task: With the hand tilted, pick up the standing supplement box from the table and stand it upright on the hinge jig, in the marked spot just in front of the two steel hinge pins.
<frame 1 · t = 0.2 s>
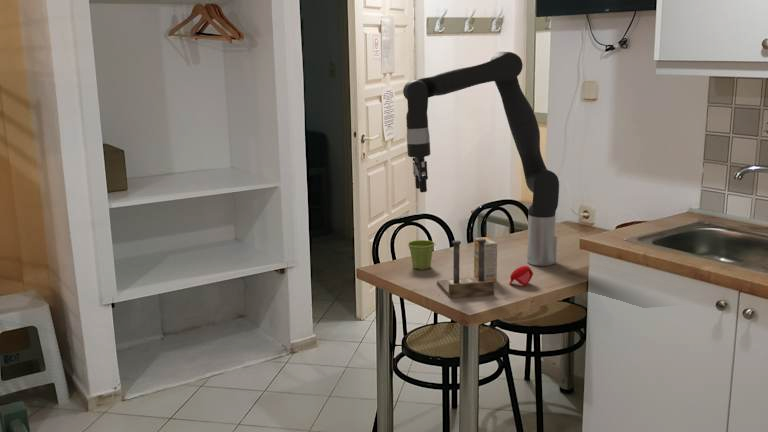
hand: (421, 190, 252), 28 cm above the table, tool pointing down, fingers open, 8 cm apart
supplement box: (485, 279, 249), on the table
cap: (521, 285, 242), on the table
hinge jig: (464, 289, 238), on the table
plant pot: (421, 268, 263), on the table
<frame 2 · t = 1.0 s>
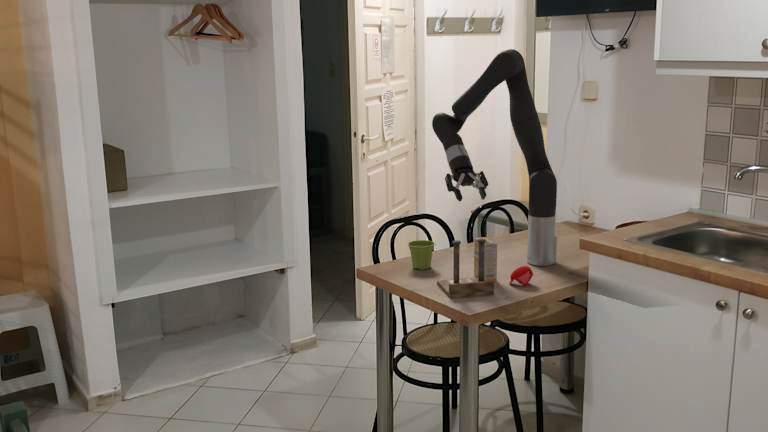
hand: (472, 199, 254), 25 cm above the table, tool tilted 45°, fingers open, 8 cm apart
nothing on the table moved.
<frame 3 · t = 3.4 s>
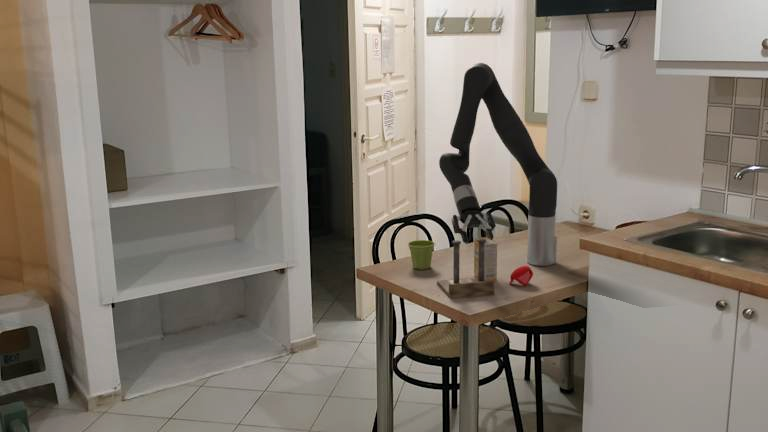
hand: (479, 241, 251), 11 cm above the table, tool tilted 45°, fingers open, 8 cm apart
nothing on the table moved.
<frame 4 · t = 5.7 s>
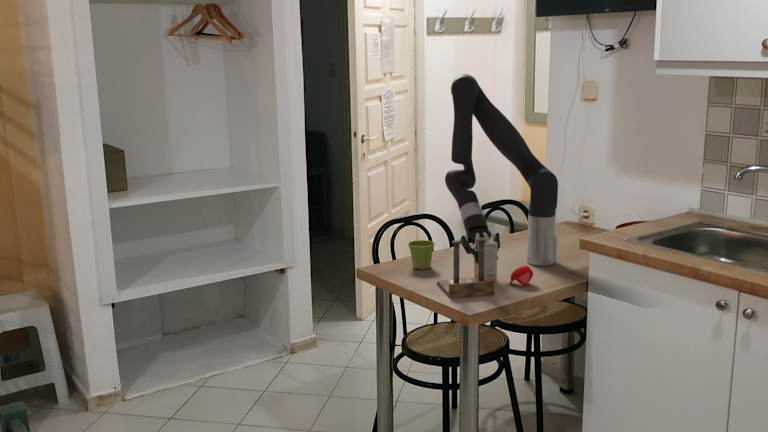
hand: (487, 262, 246), 6 cm above the table, tool tilted 45°, fingers closed on supplement box, 5 cm apart
supplement box: (485, 279, 249), on the table, touching gripper
everything else where it was.
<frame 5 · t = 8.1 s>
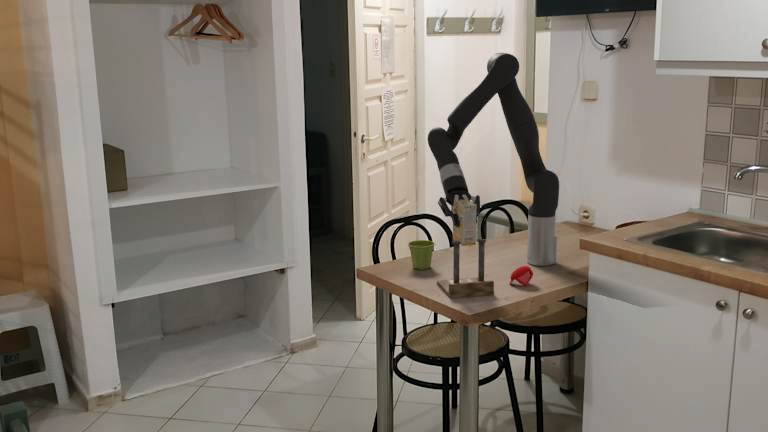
hand: (466, 225, 235), 20 cm above the table, tool tilted 45°, fingers closed on supplement box, 5 cm apart
supplement box: (463, 243, 238), point 14 cm above the table, touching gripper
everything else where it was.
when the fingers open (8 cm above the table, at t = 10.9 s): supplement box drops 1 cm, resting on hinge jig.
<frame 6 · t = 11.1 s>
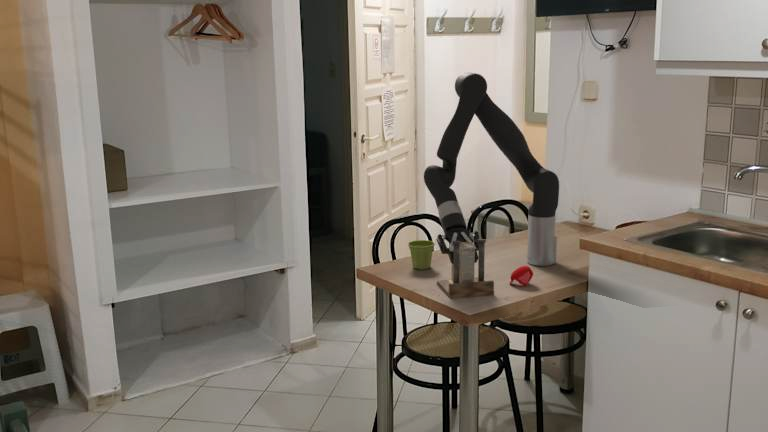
hand: (465, 262, 236), 9 cm above the table, tool tilted 45°, fingers open, 6 cm apart
supplement box: (462, 284, 239), point 1 cm above the table, touching hinge jig
everything else where it was.
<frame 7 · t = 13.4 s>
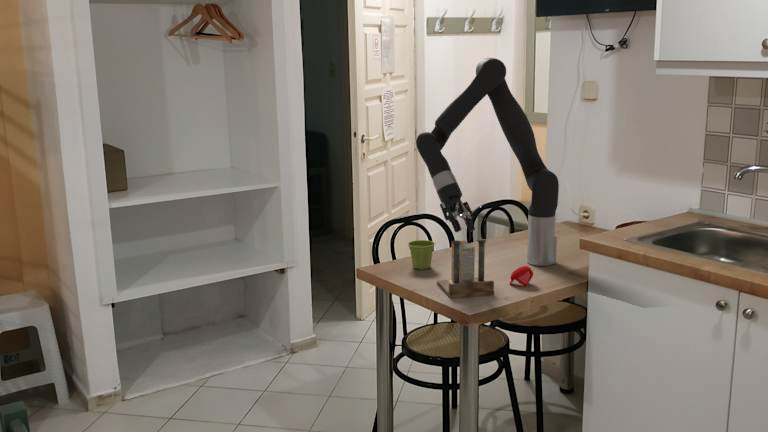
hand: (465, 231, 246), 16 cm above the table, tool tilted 35°, fingers open, 8 cm apart
nothing on the table moved.
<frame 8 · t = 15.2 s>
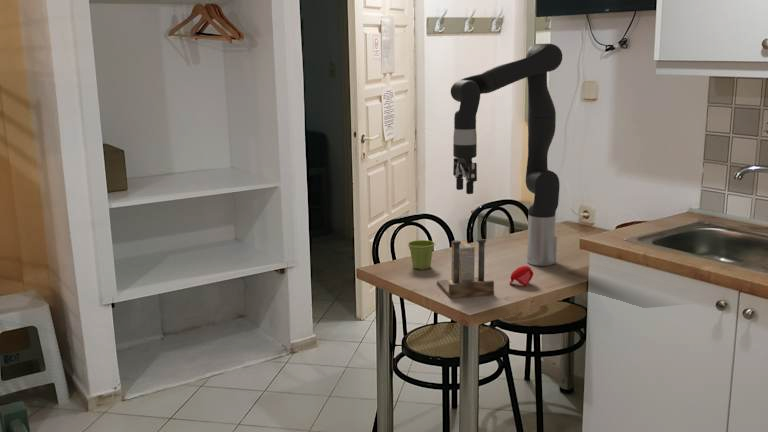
hand: (464, 191, 248), 28 cm above the table, tool pointing down, fingers open, 8 cm apart
nothing on the table moved.
at the end: supplement box inside the target area (0.2 cm from its centre), point 1.1 cm above the table; supplement box tilted 0°; the gripper is holding nothing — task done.
